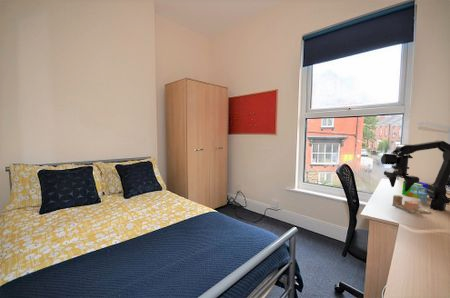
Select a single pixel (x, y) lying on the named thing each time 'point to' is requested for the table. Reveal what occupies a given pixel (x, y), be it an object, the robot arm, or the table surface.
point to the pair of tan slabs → (424, 210)
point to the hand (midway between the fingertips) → (399, 189)
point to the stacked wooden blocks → (398, 202)
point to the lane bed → (405, 209)
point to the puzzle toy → (414, 189)
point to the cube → (410, 205)
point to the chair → (419, 192)
